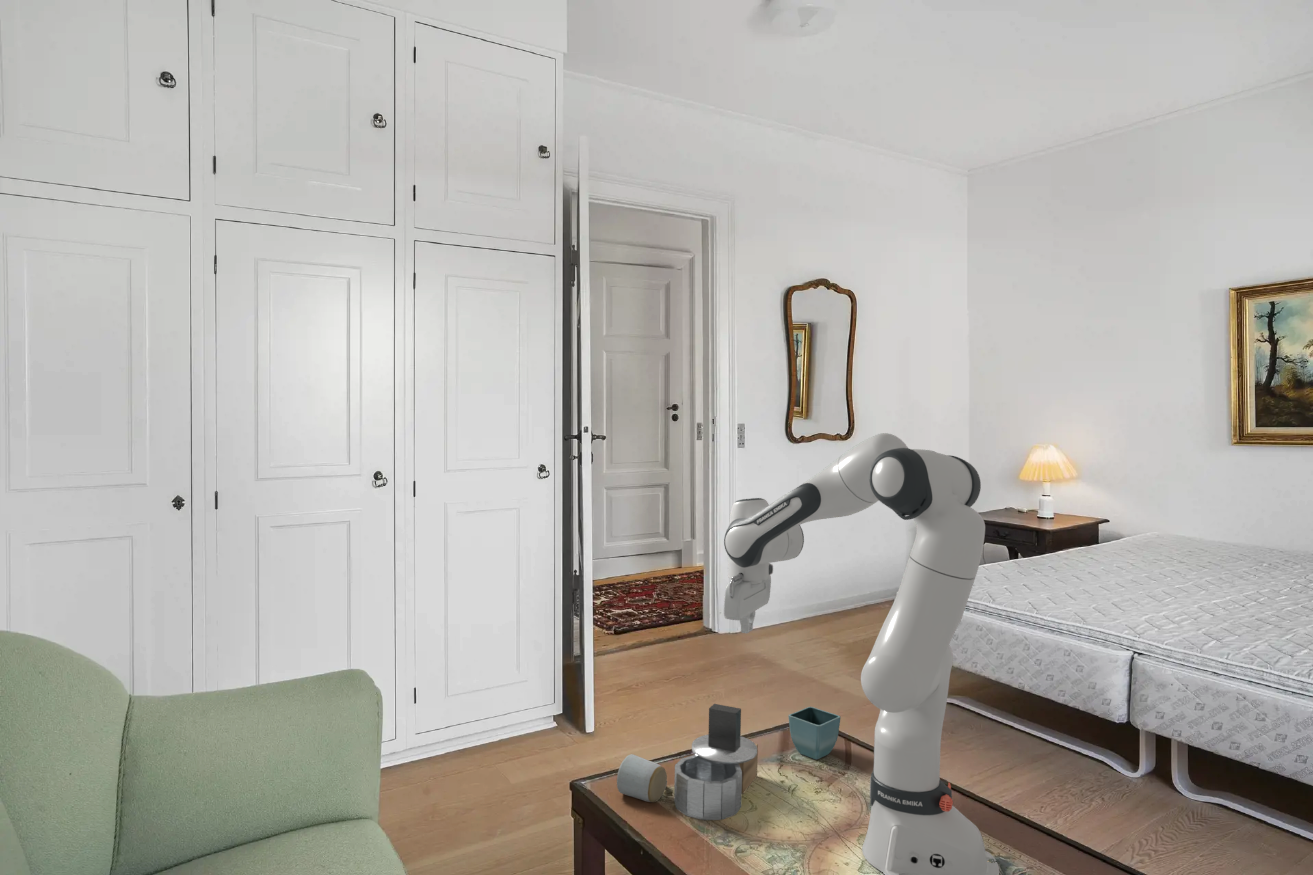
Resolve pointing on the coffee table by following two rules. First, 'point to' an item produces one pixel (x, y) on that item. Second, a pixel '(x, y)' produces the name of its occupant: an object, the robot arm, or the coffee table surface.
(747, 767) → the tan block
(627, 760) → the ceramic mug
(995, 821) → the coffee table surface
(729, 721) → the lid
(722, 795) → the pot
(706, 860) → the coffee table surface
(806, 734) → the flower pot
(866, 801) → the coffee table surface
